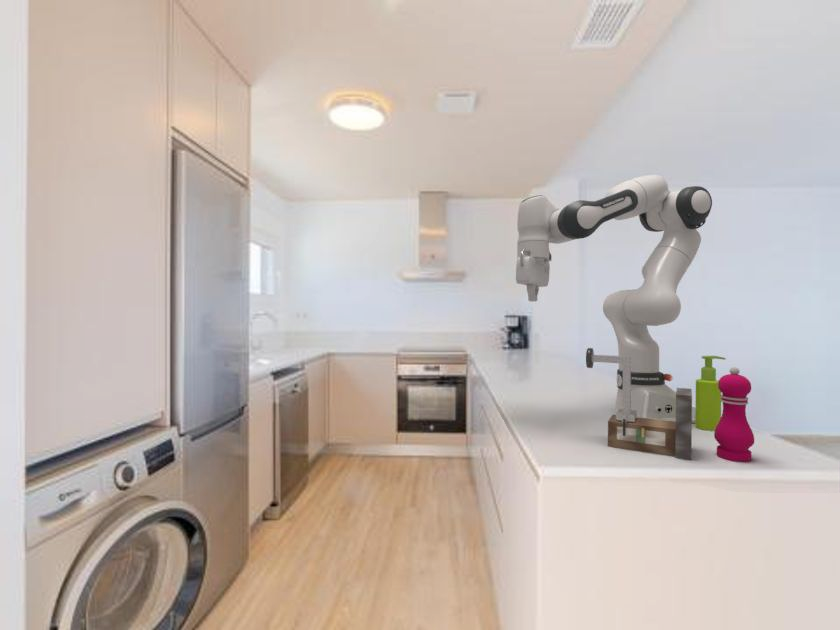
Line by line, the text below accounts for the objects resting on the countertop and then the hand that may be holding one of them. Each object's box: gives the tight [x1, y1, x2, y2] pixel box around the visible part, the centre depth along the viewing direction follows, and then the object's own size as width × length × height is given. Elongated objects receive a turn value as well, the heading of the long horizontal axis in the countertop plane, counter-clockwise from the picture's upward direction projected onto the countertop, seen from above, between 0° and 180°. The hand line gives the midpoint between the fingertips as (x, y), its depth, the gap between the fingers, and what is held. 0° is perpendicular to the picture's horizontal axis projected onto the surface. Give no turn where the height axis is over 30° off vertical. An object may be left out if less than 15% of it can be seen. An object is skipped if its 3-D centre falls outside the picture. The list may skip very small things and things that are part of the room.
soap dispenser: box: [694, 355, 727, 432], centre depth 121 cm, size 6×7×20 cm
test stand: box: [607, 387, 693, 461], centre depth 103 cm, size 17×10×14 cm, turn 59°
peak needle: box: [641, 428, 645, 437], centre depth 100 cm, size 1×1×2 cm, turn 59°
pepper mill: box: [714, 366, 755, 463], centre depth 97 cm, size 7×7×20 cm
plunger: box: [585, 347, 637, 436], centre depth 107 cm, size 11×8×20 cm
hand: (532, 301), depth 125 cm, fingers closed
